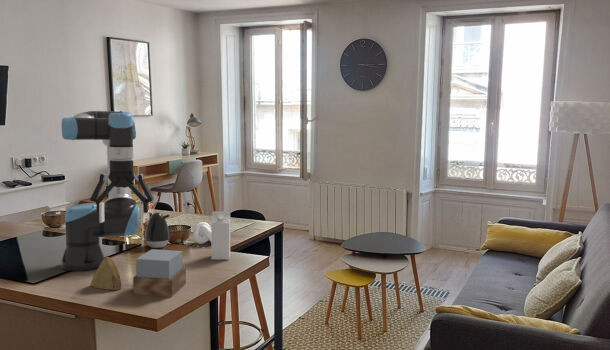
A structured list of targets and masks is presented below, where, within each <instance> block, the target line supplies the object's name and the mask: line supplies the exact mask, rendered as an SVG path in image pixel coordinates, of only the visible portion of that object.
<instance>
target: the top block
mask: <svg viewBox="0 0 610 350" xmlns="http://www.w3.org/2000/svg"><path fill="white" fill-rule="evenodd" d="M135 260H136V261H135V262H136V275H137V277H145V278H160V279H170V278H171V277H172V276H174V275H175V274H176V273H177V272H178V271H180V270H181V269H182V268H183V250H169V249H156V248H150V250H148V251H146V252H145V253H144V254H142V255H140V256H139V257H137V258H136V259H135Z"/></svg>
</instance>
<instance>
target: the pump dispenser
mask: <svg viewBox="0 0 610 350" xmlns="http://www.w3.org/2000/svg"><path fill="white" fill-rule="evenodd" d="M167 218H170V214H166V215H164V214H162V213H161V212H154V213H152V214H151V215H150V217H149V219H148V221H147V224H146V228H145V234H144V235H145V236H144V239H145V242H146V244H147V246H148V247H150V249H162V248H164V247H166V246H167V245H168V243H169V240H170V230H169V225H168V223H167V220H166V219H167Z"/></svg>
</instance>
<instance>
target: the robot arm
mask: <svg viewBox="0 0 610 350" xmlns="http://www.w3.org/2000/svg"><path fill="white" fill-rule="evenodd" d="M61 137H62V139H63V140H66V141H67V140H69V141H83V140H85V141H86V140H87V141H88V140H93V141H95V140H96V141H97V140H98V141H100V140H101V141H102V144H103V145H104V146H106V155H107V159H106V160H107V173H105V172H103V173H101V174H99V178H98V179H99V180H98V182H97V184H96V186H95V189H94V190H93V192H92V194H91V197H90V199H89V200H90V202H86V203H80V204H74V205H72V206H70V207H68V208H67V209H66V210H65V212H64V213H65V216H64V218H65V219H64V222H65V245H66V246H65V250H64V252H63V255H62V259H61V268H62V269H63V270H66V271H73V272H82V271H90V270H95V269H96V270H97V269H98V268H99V265H100V264H101V262H102V261H103V260H104V258H105V256H104V252H103V250H102V247H101V245H100V238H113V237H114V238H115V237H128V236H135V235H136V234H137V233H138V231H139V226H140V225H139V222H140V223H141V224H145V222H146V214H147V213H148V212H149V203H152V202H153V201H154V200H155V199H154V197H153V195H152V192H151V190H150V189H149V187H148V185H147V183H146V181H145V178H144V177H145V176H144V174H143V173H140V174H135V172H134V169H135V168H134V160H133V159H134V140H135V139H136V138H137V131H136V122H135V119H134V116H133V113H132V112H131V111H130V112H129V111H121V110H120V111H115V110H114V111H112V110H111V111H110V110H90V111H89V110H88V111H85V112H84V111H83V112H80V113H77V114H75V115H73V116H70V117H63V118H62V119H61ZM134 180H136V181H138V183H139V186H140V187H141V189H142V191H143V192H142V191H141V190H140V189H139V188H138V187H137V185H136V184H135V182H134ZM106 181H107V187H106V188H105V189H104V191H102V193H101V194H100V192H101V190H102V189H103V186H104V184H105V183H106ZM132 192H133V193H134V194H135V196H136V197H137V198H138V200H140V201H141V204H137V201H136V199H134V198H133V197H132ZM99 194H100V195H99ZM107 195H108V196H107ZM106 197H108V198H107V199H106V200H105V201H103V200H104V199H105V198H106Z"/></svg>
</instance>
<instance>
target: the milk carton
mask: <svg viewBox="0 0 610 350" xmlns="http://www.w3.org/2000/svg"><path fill="white" fill-rule="evenodd" d="M210 222H211V224H210V225H211V242H210V244H211V246H210V247H211V250H210V251H211V253H210V254H211V256H210V259H211V260H212V261H213V260H216V261H217V260H220V261H221V260H226V261H228V260H230V256H231V211H211V221H210Z"/></svg>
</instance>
